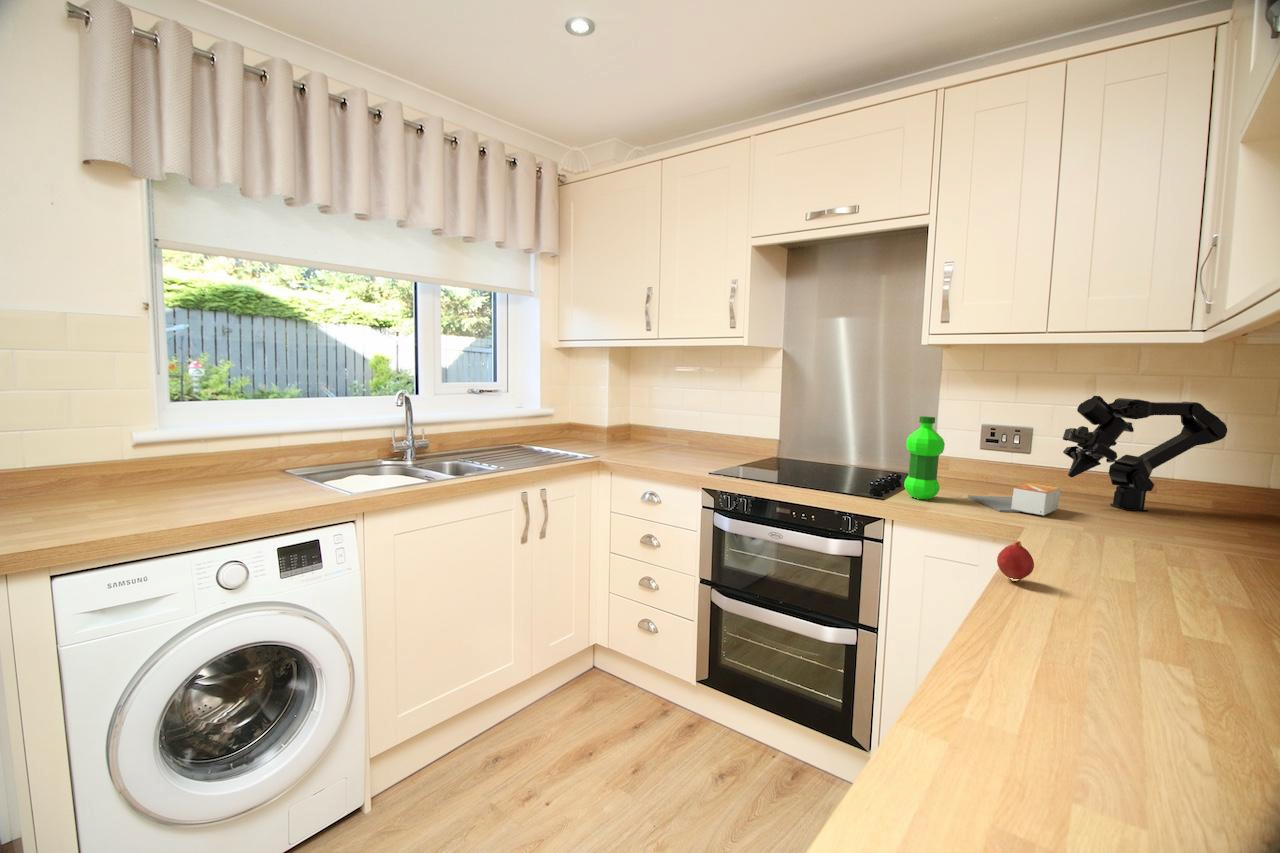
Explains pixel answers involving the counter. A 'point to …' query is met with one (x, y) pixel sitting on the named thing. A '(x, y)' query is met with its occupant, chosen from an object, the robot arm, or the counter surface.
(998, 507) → the mat
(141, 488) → the counter surface
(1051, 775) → the counter surface
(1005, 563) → the onion
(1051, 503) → the small box
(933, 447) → the plastic bottle
